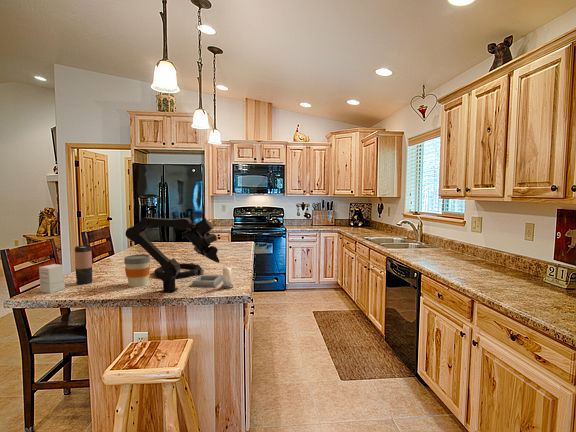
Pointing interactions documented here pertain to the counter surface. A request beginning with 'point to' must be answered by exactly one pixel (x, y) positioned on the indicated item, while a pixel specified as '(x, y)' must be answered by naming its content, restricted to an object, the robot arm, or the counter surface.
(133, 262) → the reusable coffee cup
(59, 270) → the supplement box
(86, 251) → the travel mug
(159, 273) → the cable lock
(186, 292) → the counter surface
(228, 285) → the light bulb lamp
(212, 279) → the holder dock
